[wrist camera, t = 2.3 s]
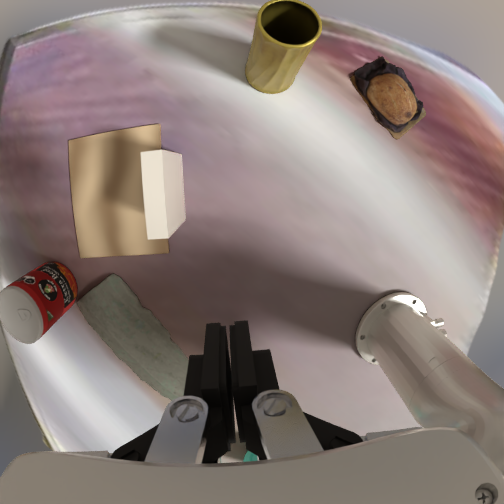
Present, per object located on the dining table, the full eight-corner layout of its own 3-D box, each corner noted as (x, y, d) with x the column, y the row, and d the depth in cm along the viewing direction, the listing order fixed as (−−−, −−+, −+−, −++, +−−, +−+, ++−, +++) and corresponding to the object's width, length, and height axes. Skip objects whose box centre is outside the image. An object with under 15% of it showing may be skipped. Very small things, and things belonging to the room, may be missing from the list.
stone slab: (118, 264, 39) (74, 304, 39) (112, 269, 36) (67, 311, 36) (216, 372, 45) (170, 401, 45) (217, 382, 42) (169, 412, 42)
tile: (181, 154, 34) (161, 149, 25) (185, 219, 36) (168, 238, 27) (164, 155, 34) (139, 152, 24) (169, 220, 36) (146, 239, 27)
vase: (247, 48, 31) (254, -11, 17) (296, 54, 31) (328, 0, 17) (243, 91, 32) (247, 47, 19) (293, 97, 33) (327, 58, 19)
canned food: (88, 292, 38) (51, 329, 28) (58, 316, 39) (22, 353, 28) (58, 249, 36) (13, 275, 26) (31, 277, 37) (-12, 305, 26)
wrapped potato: (426, 114, 34) (441, 111, 31) (390, 144, 35) (404, 143, 32) (383, 53, 32) (395, 45, 28) (342, 79, 33) (353, 71, 29)
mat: (160, 124, 33) (159, 123, 32) (169, 252, 37) (168, 253, 37) (69, 140, 32) (68, 140, 32) (81, 257, 37) (80, 258, 36)
